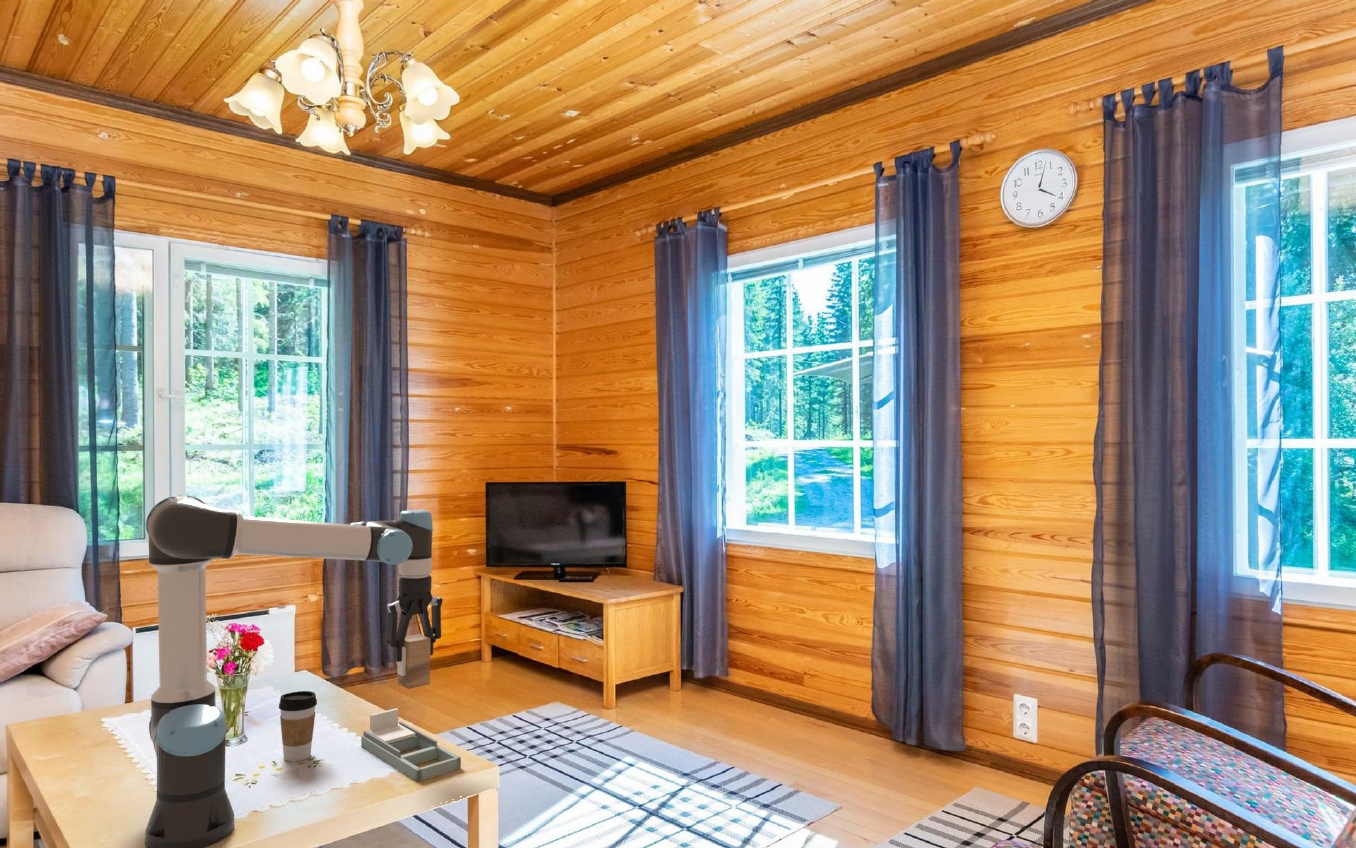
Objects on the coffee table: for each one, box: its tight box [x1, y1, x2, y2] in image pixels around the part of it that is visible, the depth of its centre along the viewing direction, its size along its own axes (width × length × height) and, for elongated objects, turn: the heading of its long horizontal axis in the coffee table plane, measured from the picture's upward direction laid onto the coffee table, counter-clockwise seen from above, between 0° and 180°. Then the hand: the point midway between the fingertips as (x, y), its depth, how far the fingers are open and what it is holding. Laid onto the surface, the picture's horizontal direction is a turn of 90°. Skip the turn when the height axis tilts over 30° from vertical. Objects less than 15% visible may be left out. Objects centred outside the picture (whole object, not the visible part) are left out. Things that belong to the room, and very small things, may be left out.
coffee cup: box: [278, 690, 318, 762], centre depth 207 cm, size 8×8×15 cm
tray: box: [360, 721, 462, 782], centre depth 208 cm, size 28×11×4 cm, turn 45°
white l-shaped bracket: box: [367, 707, 416, 744], centre depth 214 cm, size 9×8×5 cm
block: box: [396, 633, 431, 690], centre depth 207 cm, size 6×6×11 cm
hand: (413, 671), depth 207 cm, fingers closed on block, 5 cm apart
